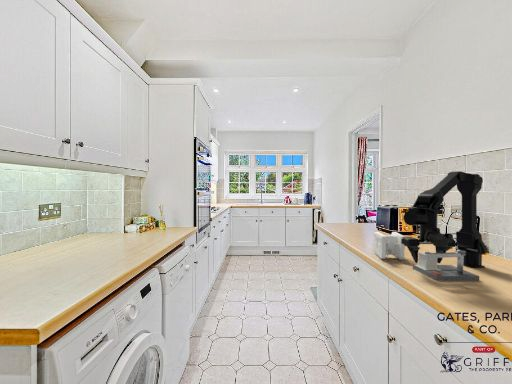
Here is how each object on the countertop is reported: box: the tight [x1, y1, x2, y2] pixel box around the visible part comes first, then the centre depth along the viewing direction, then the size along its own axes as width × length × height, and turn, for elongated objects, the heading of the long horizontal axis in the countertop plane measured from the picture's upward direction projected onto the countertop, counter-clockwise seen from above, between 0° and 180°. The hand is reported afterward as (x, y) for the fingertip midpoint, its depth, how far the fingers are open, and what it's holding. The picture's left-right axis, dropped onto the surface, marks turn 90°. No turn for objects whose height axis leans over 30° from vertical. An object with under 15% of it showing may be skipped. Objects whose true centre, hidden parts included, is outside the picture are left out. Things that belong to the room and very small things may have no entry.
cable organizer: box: [373, 231, 406, 261], centre depth 124 cm, size 15×11×12 cm
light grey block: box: [417, 251, 438, 269], centre depth 103 cm, size 4×4×6 cm
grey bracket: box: [425, 249, 466, 274], centre depth 94 cm, size 3×16×9 cm, turn 99°
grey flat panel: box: [412, 264, 480, 281], centre depth 100 cm, size 16×14×2 cm
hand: (427, 263), depth 103 cm, fingers open, 9 cm apart
